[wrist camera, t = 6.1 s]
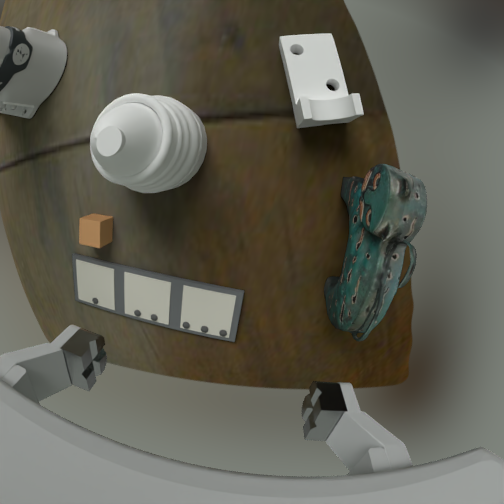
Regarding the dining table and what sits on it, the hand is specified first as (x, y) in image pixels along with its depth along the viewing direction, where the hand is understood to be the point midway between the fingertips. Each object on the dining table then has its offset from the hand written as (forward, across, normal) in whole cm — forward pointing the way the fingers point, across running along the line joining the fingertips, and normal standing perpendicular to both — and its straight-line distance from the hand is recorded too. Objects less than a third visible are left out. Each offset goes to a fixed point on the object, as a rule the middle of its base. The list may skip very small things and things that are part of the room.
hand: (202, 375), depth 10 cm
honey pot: (+31, +14, -8) cm, 35 cm away
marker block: (+31, +23, +5) cm, 39 cm away
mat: (+31, +14, +15) cm, 37 cm away
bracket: (+31, -5, -21) cm, 38 cm away
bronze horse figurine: (+31, -14, -1) cm, 34 cm away
